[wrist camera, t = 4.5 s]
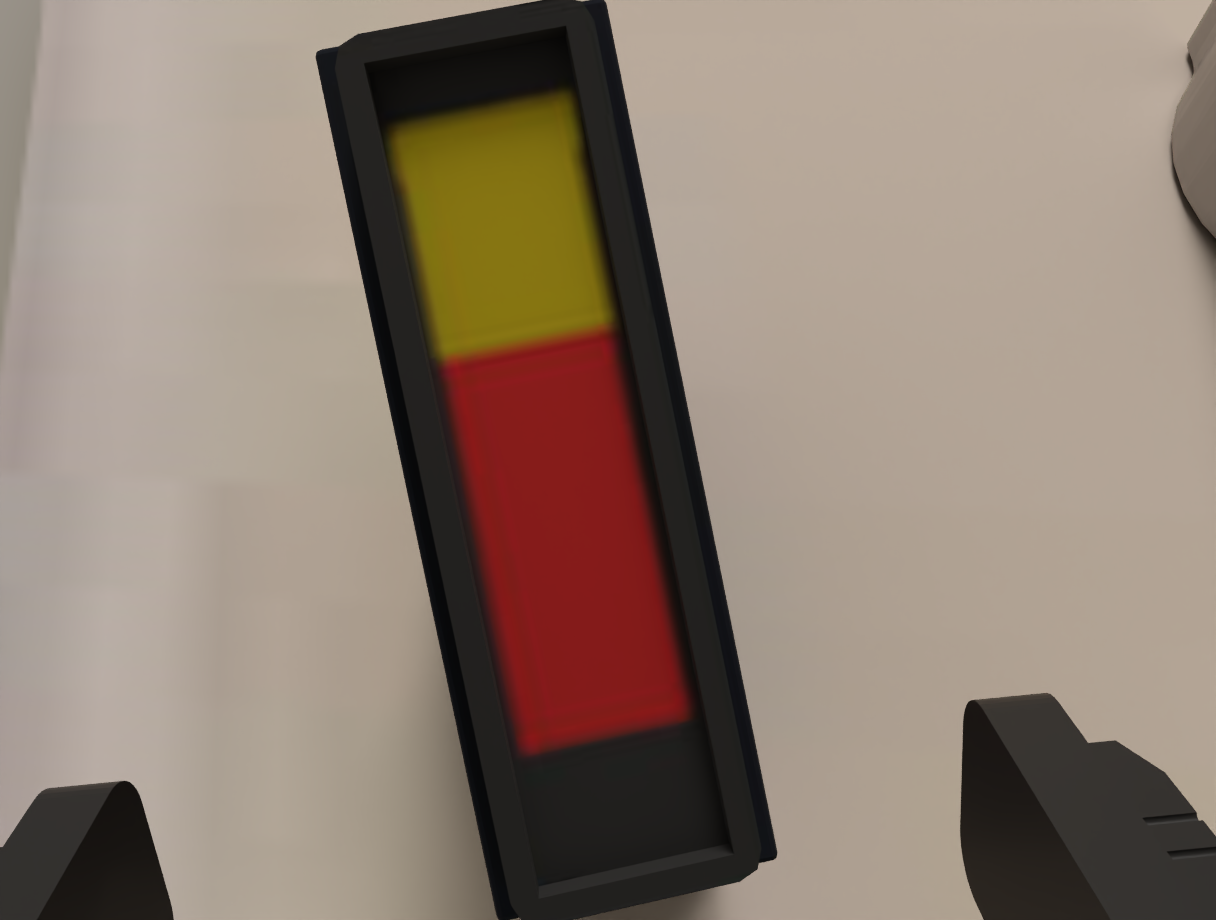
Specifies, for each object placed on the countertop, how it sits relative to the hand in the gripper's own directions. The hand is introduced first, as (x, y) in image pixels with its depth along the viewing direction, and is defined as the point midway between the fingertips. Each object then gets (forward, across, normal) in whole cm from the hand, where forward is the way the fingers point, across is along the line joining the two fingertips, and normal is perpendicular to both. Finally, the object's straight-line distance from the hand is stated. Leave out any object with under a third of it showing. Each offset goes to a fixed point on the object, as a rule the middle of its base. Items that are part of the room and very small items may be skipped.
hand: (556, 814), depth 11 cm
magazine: (+14, 0, +6) cm, 15 cm away
